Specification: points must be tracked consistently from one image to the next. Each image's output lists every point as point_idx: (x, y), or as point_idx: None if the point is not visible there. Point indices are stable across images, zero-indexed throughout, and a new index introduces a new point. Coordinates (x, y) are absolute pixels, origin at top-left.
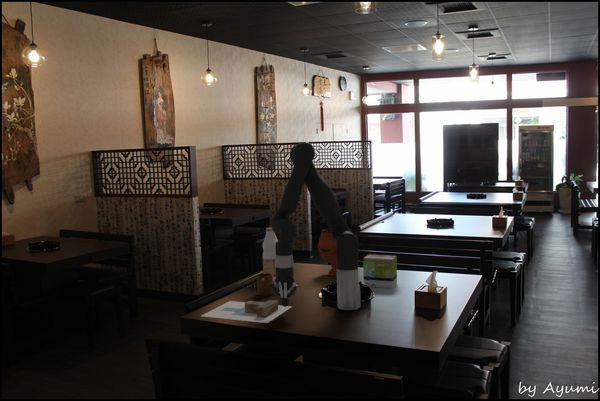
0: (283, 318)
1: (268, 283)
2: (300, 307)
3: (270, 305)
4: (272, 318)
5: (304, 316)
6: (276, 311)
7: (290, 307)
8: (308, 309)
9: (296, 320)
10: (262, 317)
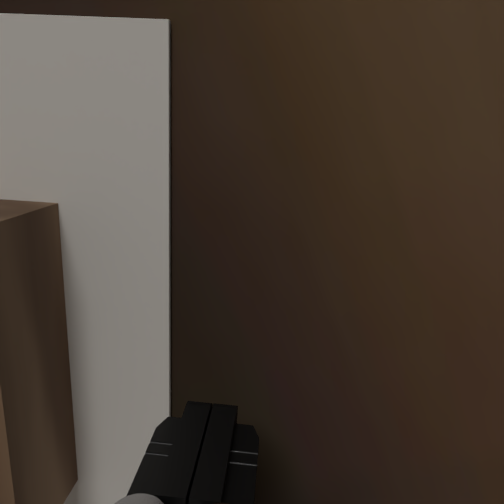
0: None
1: None
2: (290, 10)
3: (12, 446)
4: None
5: (453, 363)
6: (76, 277)
7: (162, 73)
8: (433, 79)
9: (402, 488)
10: None
